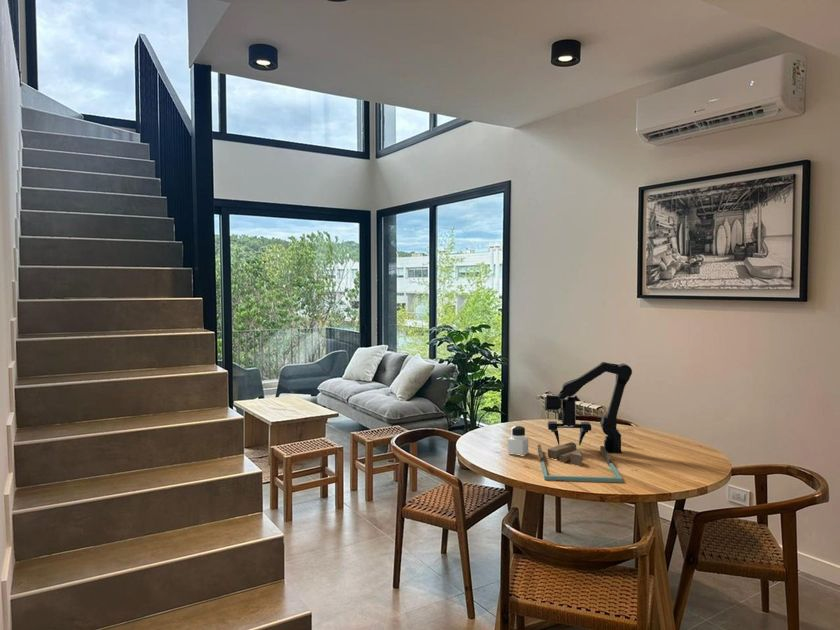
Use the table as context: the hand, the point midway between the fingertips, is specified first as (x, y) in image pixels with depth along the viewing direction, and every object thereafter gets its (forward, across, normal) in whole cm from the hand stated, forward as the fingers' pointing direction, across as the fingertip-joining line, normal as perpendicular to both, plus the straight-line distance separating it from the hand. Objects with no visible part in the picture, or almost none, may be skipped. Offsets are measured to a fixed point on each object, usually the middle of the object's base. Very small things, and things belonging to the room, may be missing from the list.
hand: (569, 444), depth 257 cm
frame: (+2, 0, +34) cm, 34 cm away
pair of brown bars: (+2, 0, +14) cm, 14 cm away
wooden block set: (+3, -1, +14) cm, 14 cm away
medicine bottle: (+2, +23, +9) cm, 25 cm away
